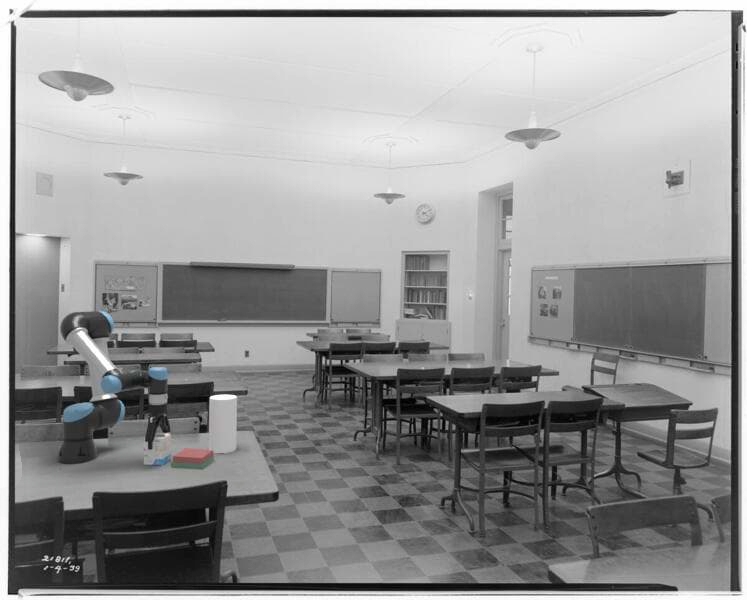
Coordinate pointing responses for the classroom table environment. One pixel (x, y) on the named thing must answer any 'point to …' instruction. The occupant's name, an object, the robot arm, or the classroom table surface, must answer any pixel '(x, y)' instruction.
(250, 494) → the classroom table surface
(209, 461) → the book stack
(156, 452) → the ink box
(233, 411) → the cylinder
